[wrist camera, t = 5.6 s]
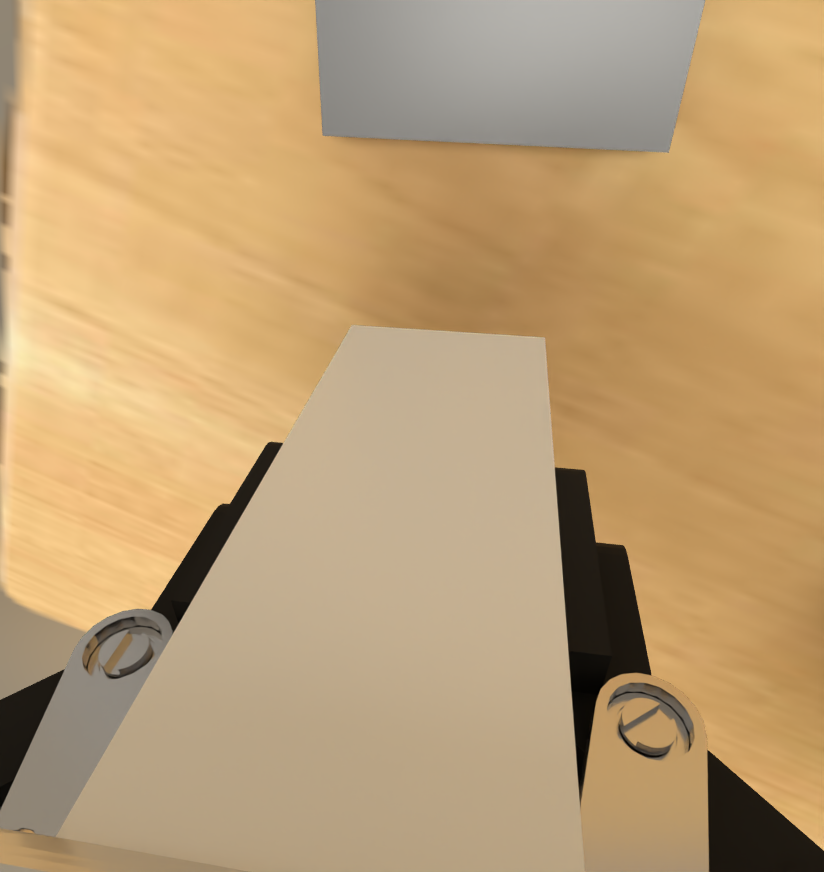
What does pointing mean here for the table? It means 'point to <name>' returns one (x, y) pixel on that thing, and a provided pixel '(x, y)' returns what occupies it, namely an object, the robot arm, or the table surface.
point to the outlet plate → (506, 70)
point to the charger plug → (372, 640)
